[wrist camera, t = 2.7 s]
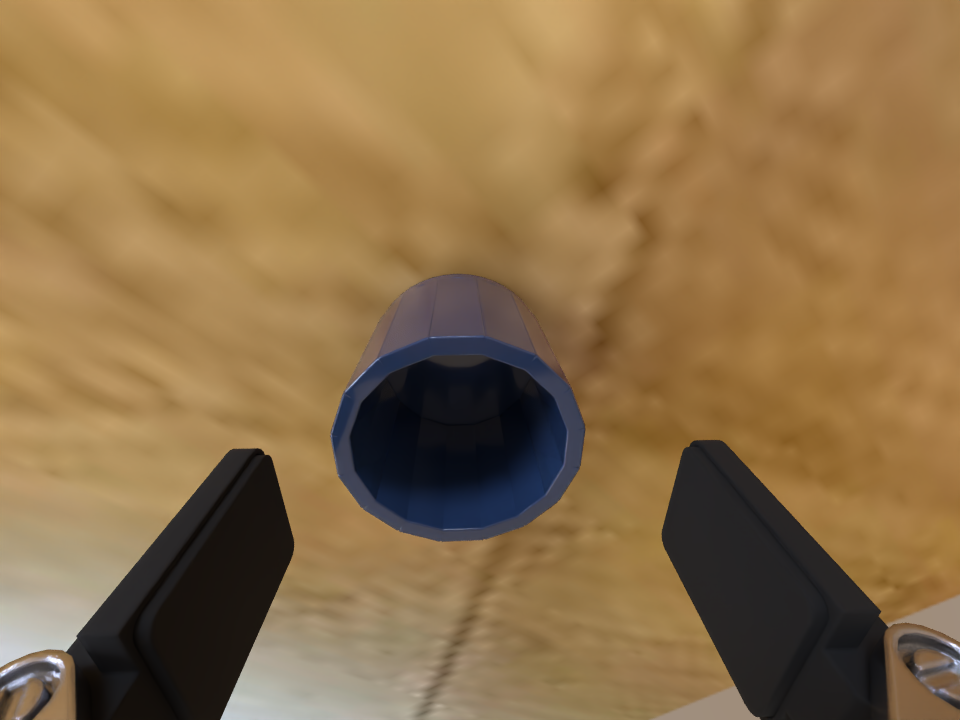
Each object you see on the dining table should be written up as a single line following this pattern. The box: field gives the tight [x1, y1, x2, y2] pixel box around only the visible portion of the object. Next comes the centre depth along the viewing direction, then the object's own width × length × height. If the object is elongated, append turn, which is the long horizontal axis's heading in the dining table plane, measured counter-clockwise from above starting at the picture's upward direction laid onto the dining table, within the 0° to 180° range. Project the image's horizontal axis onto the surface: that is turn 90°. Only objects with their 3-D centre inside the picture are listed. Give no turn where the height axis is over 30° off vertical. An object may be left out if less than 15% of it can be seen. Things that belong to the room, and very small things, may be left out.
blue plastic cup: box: [330, 274, 585, 542], centre depth 14 cm, size 7×7×6 cm
